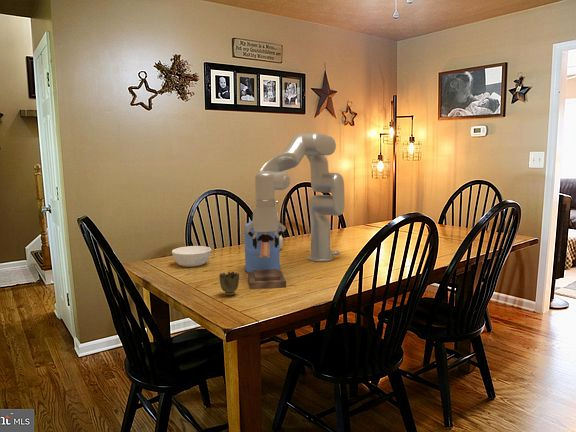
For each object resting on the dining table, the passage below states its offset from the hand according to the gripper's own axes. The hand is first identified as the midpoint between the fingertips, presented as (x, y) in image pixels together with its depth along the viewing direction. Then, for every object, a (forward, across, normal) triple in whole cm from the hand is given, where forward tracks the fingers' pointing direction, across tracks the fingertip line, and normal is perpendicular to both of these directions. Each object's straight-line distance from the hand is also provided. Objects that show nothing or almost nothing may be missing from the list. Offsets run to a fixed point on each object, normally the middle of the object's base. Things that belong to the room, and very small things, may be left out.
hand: (265, 247), depth 183 cm
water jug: (+15, 0, -19) cm, 24 cm away
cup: (+15, +15, +14) cm, 25 cm away
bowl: (+15, +32, -36) cm, 50 cm away
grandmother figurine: (+4, 0, 0) cm, 4 cm away
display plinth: (+15, 0, 0) cm, 15 cm away
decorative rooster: (+15, -5, -58) cm, 60 cm away
